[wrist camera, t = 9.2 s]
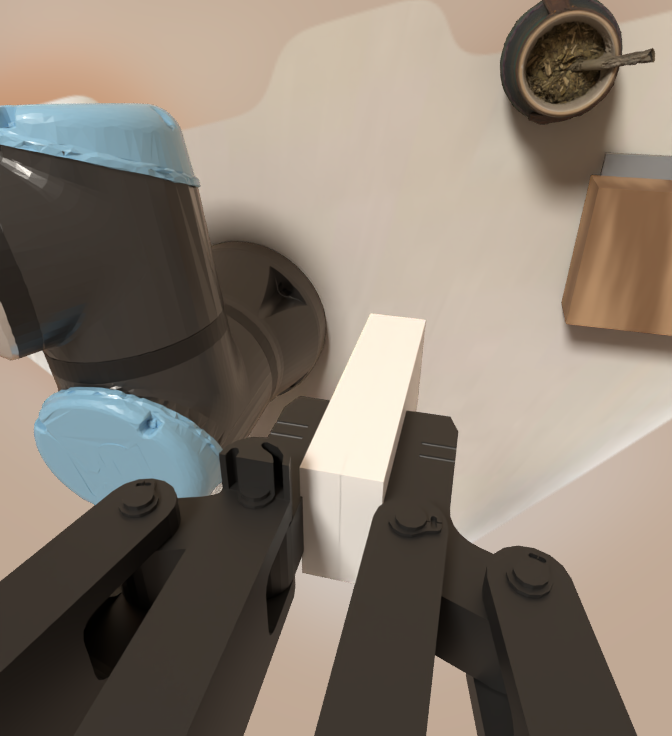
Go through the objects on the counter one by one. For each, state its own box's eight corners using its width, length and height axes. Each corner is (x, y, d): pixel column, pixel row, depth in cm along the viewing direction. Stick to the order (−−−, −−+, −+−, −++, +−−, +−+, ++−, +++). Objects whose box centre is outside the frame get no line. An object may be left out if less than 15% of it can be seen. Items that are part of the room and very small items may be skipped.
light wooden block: (566, 323, 43) (744, 343, 41) (598, 187, 38) (804, 201, 36) (561, 302, 47) (725, 320, 44) (590, 174, 41) (778, 186, 39)
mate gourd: (488, 20, 39) (488, 15, 30) (611, -26, 36) (648, -45, 28) (508, 130, 42) (513, 154, 33) (623, 96, 39) (660, 112, 31)
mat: (566, 318, 47) (567, 320, 47) (605, 152, 41) (606, 153, 40) (713, 334, 45) (715, 336, 45) (780, 161, 39) (782, 163, 38)
